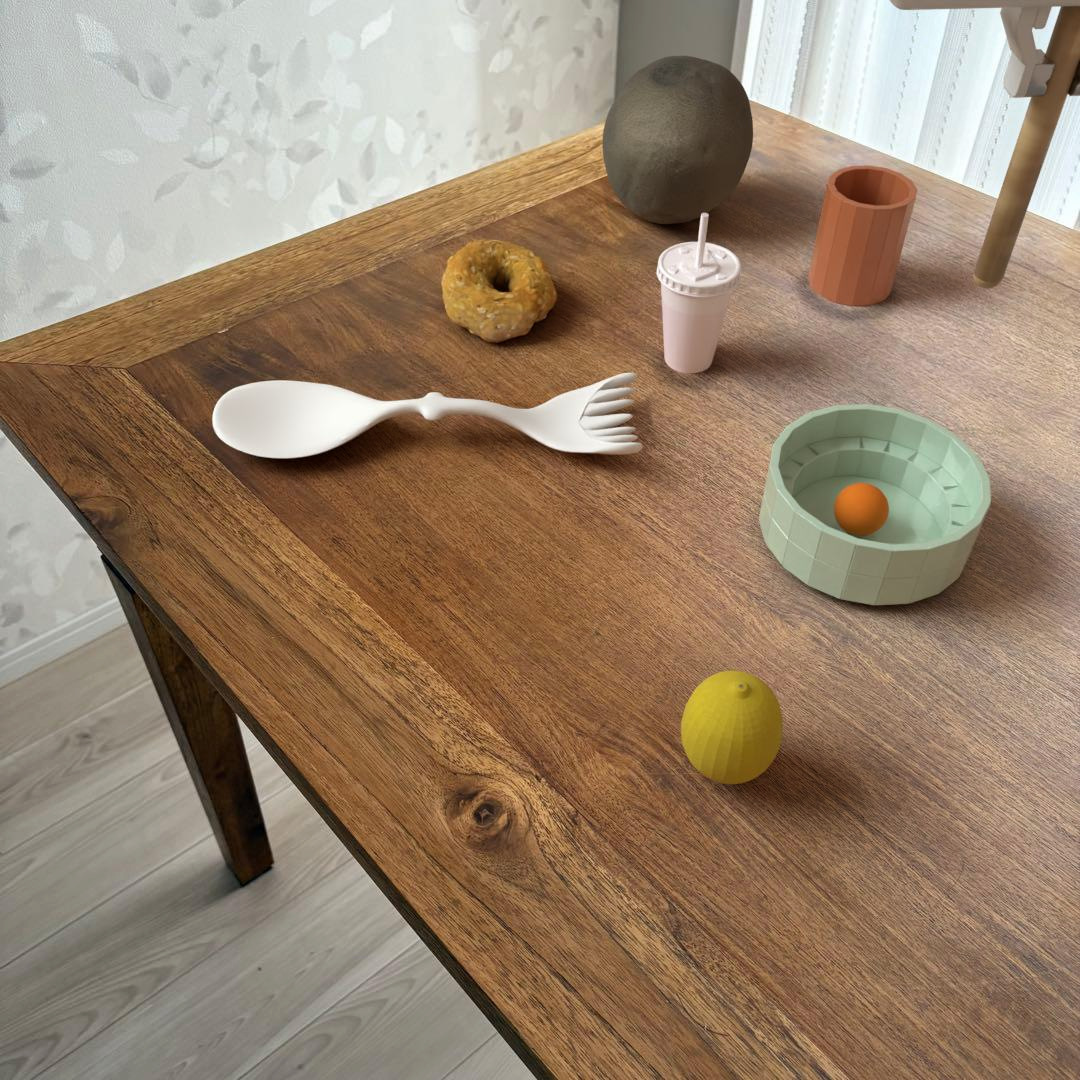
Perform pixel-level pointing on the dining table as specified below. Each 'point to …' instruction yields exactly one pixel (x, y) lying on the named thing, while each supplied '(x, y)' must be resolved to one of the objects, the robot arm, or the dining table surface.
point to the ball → (861, 509)
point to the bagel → (497, 289)
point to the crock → (861, 234)
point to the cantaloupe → (677, 139)
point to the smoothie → (695, 299)
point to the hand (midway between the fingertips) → (1051, 92)
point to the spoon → (340, 415)
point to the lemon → (732, 727)
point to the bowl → (905, 479)
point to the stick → (1030, 151)
